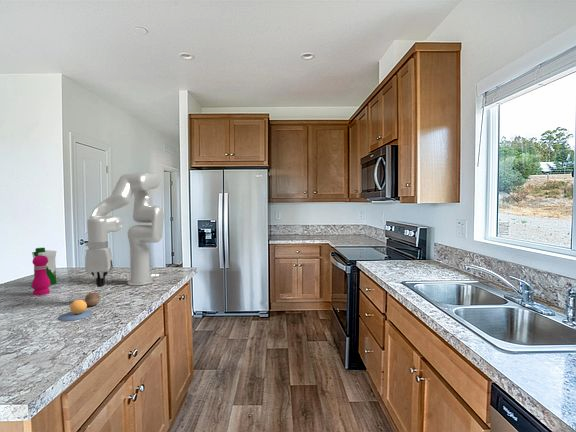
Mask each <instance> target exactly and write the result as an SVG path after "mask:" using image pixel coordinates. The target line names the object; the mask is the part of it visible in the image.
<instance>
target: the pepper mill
mask: <svg viewBox="0 0 576 432" xmlns="http://www.w3.org/2000/svg"><path fill="white" fill-rule="evenodd" d="M47 263H48V258H47V257H46V256H42V253H41V252H40V253H38V256H36V257H35V258H34V259H32V265H33V270H34V269H35V277H33V279H32V282H31V288H32V289H33V291H32V294H33V295H32V296H43V295H48V294H49V293H50V288H49V287H50V286H51V285H50V280H49V278H48V276H47V274H46V268H47V265H46V264H47ZM34 265H35V266H34Z"/></svg>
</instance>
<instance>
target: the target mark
mask: <svg viewBox="0 0 576 432" xmlns="http://www.w3.org/2000/svg"><path fill="white" fill-rule="evenodd" d="M92 314H93V312H92V311H90V310H85V311H84V312H83V313H81V314H74V313H72V312H67V313H63V314H61V315H59V316H58V317H57V320H58V321H60V320H61V322H71V321H72V320H73V321H78V319H79V320H82V318H83V319H86V318H87V317H90V316H92ZM73 321H72V322H73Z"/></svg>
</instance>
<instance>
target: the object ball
mask: <svg viewBox="0 0 576 432" xmlns="http://www.w3.org/2000/svg"><path fill="white" fill-rule="evenodd" d="M87 307H88V305H87V304H86V302H85V300H83V299H76V300H74V301H73V302H72V303H71V304H70V307H69V309H70V311H71V312H72V313H74V314H81V313H83V312H84V311H87Z"/></svg>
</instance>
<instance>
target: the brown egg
mask: <svg viewBox="0 0 576 432" xmlns="http://www.w3.org/2000/svg"><path fill="white" fill-rule="evenodd" d="M100 300H101V297H100V295H99V294H98V293H97V292H89V293H88V294H86V296H85V298H84V301H85V302H86V304H87V306H90V307H94V306H96V305H97V304H98V303H99V302H100Z"/></svg>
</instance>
